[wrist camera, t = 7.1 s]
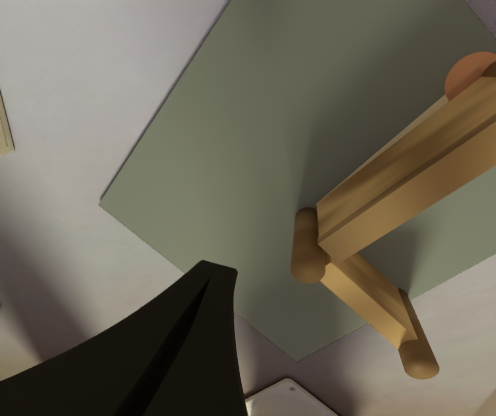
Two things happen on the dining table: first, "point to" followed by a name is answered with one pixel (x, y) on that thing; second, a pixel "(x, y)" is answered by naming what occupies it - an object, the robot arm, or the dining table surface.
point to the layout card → (306, 151)
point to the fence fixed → (363, 294)
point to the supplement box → (4, 132)
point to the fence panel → (413, 172)
